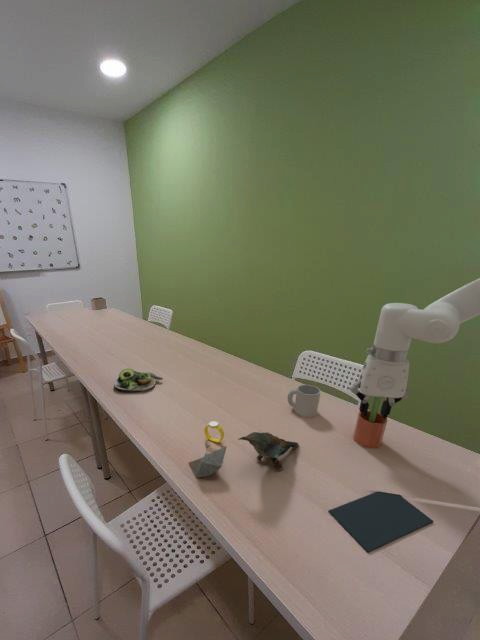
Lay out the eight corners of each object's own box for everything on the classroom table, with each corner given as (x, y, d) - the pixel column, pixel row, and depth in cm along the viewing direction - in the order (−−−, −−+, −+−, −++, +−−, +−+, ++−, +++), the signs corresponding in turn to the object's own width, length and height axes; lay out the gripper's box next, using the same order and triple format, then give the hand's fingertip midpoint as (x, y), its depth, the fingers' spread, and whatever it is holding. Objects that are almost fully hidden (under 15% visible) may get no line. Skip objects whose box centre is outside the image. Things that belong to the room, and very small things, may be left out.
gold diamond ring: (225, 441, 88) (225, 424, 86) (220, 446, 86) (221, 429, 84) (207, 435, 91) (207, 418, 89) (203, 439, 89) (202, 422, 87)
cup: (314, 421, 97) (318, 396, 93) (283, 413, 102) (286, 389, 98) (318, 410, 102) (322, 387, 99) (289, 403, 107) (291, 381, 104)
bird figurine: (282, 433, 90) (262, 394, 77) (310, 452, 82) (293, 411, 70) (253, 467, 87) (227, 431, 74) (279, 489, 79) (256, 453, 67)
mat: (388, 488, 71) (389, 486, 71) (432, 522, 62) (433, 520, 62) (328, 511, 65) (328, 510, 65) (367, 552, 56) (368, 551, 56)
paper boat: (181, 478, 74) (180, 447, 81) (195, 489, 77) (194, 458, 84) (223, 461, 70) (219, 429, 77) (236, 473, 73) (231, 442, 80)
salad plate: (165, 374, 133) (165, 364, 131) (159, 393, 117) (158, 382, 115) (123, 374, 134) (121, 364, 133) (110, 393, 118) (109, 382, 116)
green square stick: (368, 439, 87) (379, 396, 81) (370, 442, 86) (381, 399, 80) (363, 438, 87) (373, 396, 82) (364, 441, 86) (375, 398, 80)
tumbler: (376, 436, 89) (382, 411, 85) (383, 451, 83) (391, 425, 79) (350, 433, 90) (355, 409, 87) (355, 447, 84) (361, 422, 81)
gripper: (355, 356, 74) (342, 418, 82) (434, 361, 70) (413, 426, 78) (349, 346, 81) (337, 405, 88) (420, 350, 77) (402, 411, 84)
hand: (373, 414), depth 83 cm, fingers open, 4 cm apart
